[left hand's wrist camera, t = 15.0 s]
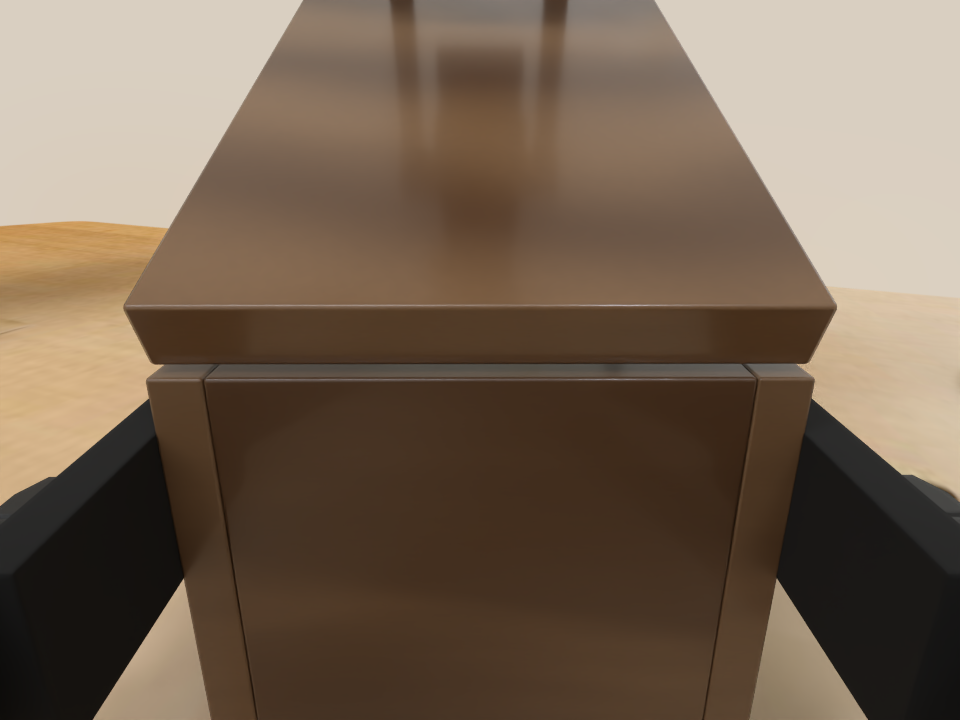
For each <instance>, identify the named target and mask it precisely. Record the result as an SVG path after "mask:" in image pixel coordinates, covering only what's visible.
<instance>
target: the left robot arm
mask: <svg viewBox="0 0 960 720" xmlns="http://www.w3.org/2000/svg"><path fill="white" fill-rule="evenodd" d="M776 577H777V579H778V581H779V582H780V584H781V585H782V587H783V588H784V590H785V591H786V593H787V595H788V596H789V598H790V599H791V601H792V602H793V604H794V605H795V607H796V609H797V610H798V612H799V613H800V615H801V616H802V618H803V619H804V621H805V622H806V624H807V626H808V627H809V629H810V630H811V632H812V633H813V635H814V636H815V638H816V640H817V641H818V643H819V644H820V646H821V647H822V649H823V650H824V652H825V654H826V655H827V657H828V658H829V660H830V661H831V663H832V664H833V666H834V668H835V669H836V671H837V672H838V674H839V675H840V677H841V678H842V680H843V681H844V683H845V685H846V686H847V688H848V689H849V691H850V692H851V694H852V695H853V697H854V699H855V700H856V702H857V703H858V705H859V706H860V708H861V709H862V711H863V713H864V714H865V716H866V717H867V719H868V720H960V502H958V501H957V500H956V499H955V498H953V497H952V496H951V495H950V494H948V493H947V492H945V491H943V490H941V489H939V488H937V487H935V486H933V485H931V484H929V483H927V482H925V481H923V480H921V479H919V478H917V477H915V476H913V475H901V474H900V473H899V472H898V471H897V470H895V469H894V468H893V467H892V466H891V465H890V464H888V463H887V462H886V461H885V460H884V459H882V458H881V457H880V456H879V455H878V454H877V453H875V452H874V451H873V450H872V449H871V448H869V447H868V446H867V445H866V444H865V443H864V442H862V441H861V440H860V439H859V438H858V437H856V436H855V435H854V434H853V433H852V432H851V431H849V430H848V429H847V428H846V427H845V426H843V425H842V424H841V423H840V422H839V421H838V420H836V419H835V418H834V417H833V416H832V415H830V414H829V413H828V412H827V411H826V410H825V409H823V408H822V407H821V406H820V405H819V404H817V403H816V402H815V401H814V400H813V399H812V398H811V403H810V408H809V413H808V418H807V424H806V429H805V433H804V437H803V442H802V447H801V452H800V458H799V463H798V468H797V473H796V478H795V483H794V489H793V494H792V499H791V504H790V509H789V514H788V520H787V525H786V530H785V535H784V540H783V545H782V551H781V556H780V561H779V566H778V571H777V576H776ZM183 578H184V576H183V571H182V566H181V561H180V555H179V550H178V545H177V540H176V535H175V530H174V524H173V519H172V514H171V509H170V504H169V499H168V493H167V488H166V483H165V478H164V473H163V468H162V462H161V457H160V452H159V447H158V442H157V437H156V431H155V426H154V421H153V416H152V411H151V406H150V400H149V399H148V400H147V401H146V402H144V403H143V404H142V405H141V406H140V407H138V408H137V409H136V410H135V411H134V412H133V413H131V414H130V415H129V416H128V417H127V418H125V419H124V420H123V421H122V422H121V423H120V424H118V425H117V426H116V427H115V428H114V429H113V430H111V431H110V432H109V433H108V434H107V435H105V436H104V437H103V438H102V439H101V440H100V441H98V442H97V443H96V444H95V445H94V446H92V447H91V448H90V449H89V450H88V451H87V452H85V453H84V454H83V455H82V456H81V457H79V458H78V459H77V460H76V461H75V462H74V463H72V464H71V465H70V466H69V467H68V468H66V469H65V470H64V471H63V472H62V473H61V474H59V475H58V476H57V477H48V478H46V479H44V480H42V481H40V482H38V483H36V484H34V485H32V486H31V487H29V488H27V489H25V490H23V491H21V492H19V493H17V494H15V495H13V496H12V497H11V498H10V499H8V500H7V501H6V502H5V503H4V504H2V505H1V506H0V720H93V718H94V717H95V715H96V714H97V712H98V710H99V709H100V707H101V706H102V704H103V703H104V701H105V700H106V698H107V696H108V695H109V693H110V692H111V690H112V689H113V687H114V686H115V684H116V683H117V681H118V679H119V678H120V676H121V675H122V673H123V672H124V670H125V669H126V667H127V665H128V664H129V662H130V661H131V659H132V658H133V656H134V655H135V653H136V651H137V650H138V648H139V647H140V645H141V644H142V642H143V641H144V639H145V637H146V636H147V634H148V633H149V631H150V630H151V628H152V627H153V625H154V623H155V622H156V620H157V619H158V617H159V616H160V614H161V613H162V611H163V610H164V608H165V606H166V605H167V603H168V602H169V600H170V599H171V597H172V596H173V594H174V592H175V591H176V589H177V588H178V586H179V585H180V583H181V582H182V580H183Z"/></svg>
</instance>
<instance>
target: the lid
mask: <svg viewBox="0 0 960 720" xmlns="http://www.w3.org/2000/svg"><path fill="white" fill-rule="evenodd" d="M836 310H837V304H836V303H835V301H834V299H833V298H832V296H831V294H830V293H829V291H828V289H827V288H826V286H825V284H824V283H823V281H822V279H821V278H820V276H819V274H818V273H817V271H816V269H815V268H814V266H813V264H812V262H811V261H810V259H809V258H808V256H807V254H806V252H805V251H804V249H803V247H802V246H801V244H800V242H799V241H798V239H797V238H796V236H795V234H794V232H793V231H792V229H791V227H790V226H789V224H788V222H787V221H786V219H785V217H784V216H783V214H782V212H781V211H780V209H779V207H778V206H777V204H776V202H775V201H774V199H773V197H772V196H771V194H770V192H769V191H768V189H767V187H766V186H765V184H764V182H763V181H762V179H761V177H760V176H759V174H758V172H757V171H756V169H755V167H754V166H753V164H752V162H751V161H750V159H749V157H748V156H747V154H746V152H745V151H744V149H743V147H742V146H741V144H740V142H739V141H738V139H737V137H736V136H735V134H734V132H733V131H732V129H731V127H730V126H729V124H728V122H727V121H726V119H725V117H724V116H723V114H722V112H721V111H720V109H719V107H718V106H717V104H716V102H715V101H714V99H713V97H712V96H711V94H710V92H709V91H708V89H707V87H706V86H705V84H704V82H703V81H702V79H701V77H700V76H699V74H698V72H697V71H696V69H695V67H694V66H693V64H692V62H691V61H690V59H689V57H688V56H687V54H686V52H685V51H684V49H683V47H682V46H681V44H680V42H679V41H678V39H677V37H676V36H675V34H674V32H673V31H672V29H671V27H670V26H669V24H668V22H667V21H666V19H665V17H664V16H663V14H662V12H661V11H660V9H659V7H658V5H657V4H656V2H655V0H303V1H302V3H301V5H300V7H299V8H298V10H297V12H296V13H295V15H294V17H293V19H292V20H291V22H290V24H289V25H288V27H287V29H286V30H285V32H284V34H283V35H282V37H281V39H280V41H279V42H278V44H277V46H276V47H275V49H274V51H273V52H272V54H271V56H270V58H269V59H268V61H267V63H266V64H265V66H264V68H263V69H262V71H261V73H260V75H259V76H258V78H257V80H256V81H255V83H254V85H253V86H252V88H251V90H250V92H249V93H248V95H247V97H246V98H245V100H244V102H243V104H242V105H241V107H240V109H239V110H238V112H237V114H236V115H235V117H234V119H233V120H232V122H231V124H230V126H229V127H228V129H227V131H226V132H225V134H224V136H223V137H222V139H221V141H220V143H219V144H218V146H217V148H216V149H215V151H214V153H213V154H212V156H211V158H210V159H209V161H208V163H207V165H206V166H205V168H204V170H203V171H202V173H201V175H200V177H199V178H198V180H197V182H196V183H195V185H194V187H193V188H192V190H191V192H190V193H189V195H188V197H187V199H186V200H185V202H184V204H183V205H182V207H181V209H180V210H179V212H178V214H177V216H176V217H175V219H174V221H173V222H172V224H171V226H170V227H169V229H168V231H167V233H166V234H165V236H164V238H163V239H162V241H161V243H160V244H159V246H158V248H157V250H156V251H155V253H154V255H153V256H152V258H151V260H150V261H149V263H148V265H147V267H146V268H145V270H144V272H143V273H142V275H141V277H140V278H139V280H138V282H137V284H136V285H135V287H134V289H133V290H132V292H131V294H130V295H129V297H128V299H127V301H126V302H125V304H124V312H125V313H126V315H127V317H128V319H129V321H130V323H131V325H132V327H133V329H134V331H135V333H136V335H137V337H138V339H139V341H140V343H141V345H142V347H143V349H144V351H145V353H146V355H147V356H148V358H149V360H150V362H151V363H152V364H806V363H808V362H810V360H811V358H812V356H813V354H814V352H815V351H816V349H817V347H818V345H819V343H820V341H821V339H822V337H823V335H824V333H825V331H826V329H827V327H828V325H829V323H830V321H831V320H832V318H833V316H834V314H835V312H836Z"/></svg>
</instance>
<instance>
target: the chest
mask: <svg viewBox="0 0 960 720" xmlns="http://www.w3.org/2000/svg"><path fill="white" fill-rule="evenodd" d="M814 382H815V380H814V378H813V377H812V376H811V375H809V374H808V373H807V372H806V371H804V370H803V369H802V368H800V367H799V366H798V365H797V364H165V365H164V366H162V367H161V368H160V369H159V370H157V371H156V372H155V373H154V374H152V375H151V376H150V377H148V378H147V380H146V385H147V390H148V395H149V400H150V406H151V411H152V416H153V421H154V426H155V431H156V437H157V442H158V447H159V452H160V457H161V462H162V468H163V473H164V478H165V483H166V488H167V493H168V499H169V504H170V509H171V514H172V519H173V524H174V530H175V535H176V540H177V545H178V550H179V555H180V561H181V566H182V571H183V576H184V581H185V586H186V592H187V597H188V602H189V607H190V612H191V617H192V623H193V628H194V633H195V638H196V643H197V648H198V654H199V659H200V664H201V669H202V674H203V679H204V685H205V690H206V695H207V700H208V705H209V711H210V716H211V720H749V718H750V713H751V707H752V702H753V697H754V692H755V687H756V682H757V676H758V671H759V666H760V661H761V656H762V651H763V645H764V640H765V635H766V630H767V625H768V620H769V615H770V609H771V604H772V599H773V594H774V589H775V584H776V578H777V577H776V576H777V571H778V566H779V561H780V556H781V551H782V545H783V540H784V535H785V530H786V525H787V520H788V514H789V509H790V504H791V499H792V494H793V489H794V483H795V478H796V473H797V468H798V463H799V458H800V452H801V447H802V442H803V437H804V433H805V429H806V424H807V418H808V413H809V408H810V403H811V398H812V393H813V387H814Z"/></svg>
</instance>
